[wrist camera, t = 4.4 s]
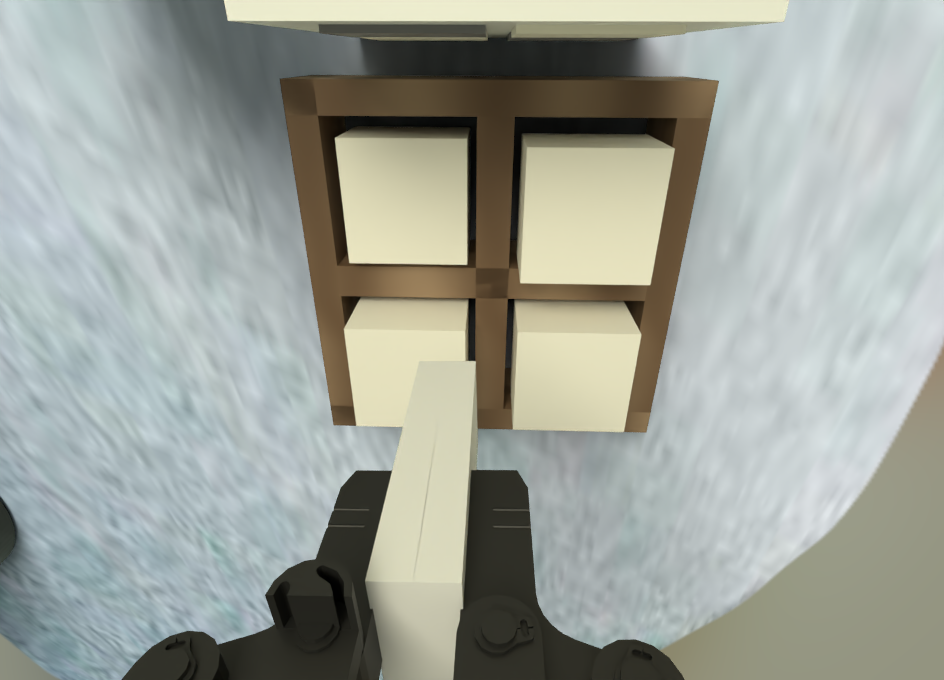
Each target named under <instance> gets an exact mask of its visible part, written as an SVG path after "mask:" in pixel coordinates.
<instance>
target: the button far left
mask: <svg viewBox="0 0 944 680" xmlns="http://www.w3.org/2000/svg"><path fill="white" fill-rule="evenodd" d="M344 334H345V342H346V350H347V357H348V365H349V373H350V380H351V388H352V396H353V403H354V411H355V419H356V426H381V427H403V425H404V421H405V417H406V413H407V409H408V405H409V401H410V396H411V392H412V388H413V384H414V380H415V376H416V372H417V368H418V364H419V361H469V298H431V297H369V296H361V298H360V300H359V302H358V304H357V305H356V307H355V309H354V311H353V313H352V315H351V317H350V318H349V320H348V322H347V324H346V326H345V328H344Z"/></svg>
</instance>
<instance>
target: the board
mask: <svg viewBox="0 0 944 680" xmlns="http://www.w3.org/2000/svg"><path fill="white" fill-rule="evenodd" d="M718 83H719V81H716V80H707V79H699V78H690V77H626V76H401V75H308V76H300V77H291V78H283V79H280V84H281V91H282V97H283V104H284V110H285V116H286V123H287V129H288V136H289V142H290V148H291V155H292V161H293V168H294V174H295V180H296V187H297V193H298V200H299V206H300V212H301V219H302V225H303V232H304V238H305V244H306V251H307V257H308V264H309V270H310V276H311V283H312V289H313V296H314V302H315V309H316V315H317V321H318V328H319V334H320V341H321V347H322V353H323V360H324V366H325V373H326V379H327V385H328V392H329V398H330V405H331V411H332V417H333V424H334V425H349V426H356V419H355V411H354V403H353V396H352V388H351V380H350V373H349V365H348V357H347V350H346V342H345V334H344V328H345V326H346V324H347V322H348V320H349V318H350V317H351V315H352V313H353V311H354V309H355V307H356V305H357V304H358V302H359V300H360V298H361V296H369V297H431V298H476V326H475V361H476V391H477V428H478V429H513V424H512V406H511V388H510V382H511V368H505V354H506V329H507V303H508V299H553V300H614V301H624V303H625V304H626V306H627V308H628V310H629V312H630V314H631V316H632V318H633V319H634V321H635V323H636V325H637V327H638V329H639V331H640V333H641V340H640V345H639V351H638V356H637V362H636V368H635V373H634V379H633V384H632V390H631V395H630V401H629V406H628V412H627V417H626V423H625V428H624V432H646V431H647V426H648V422H649V417H650V412H651V407H652V402H653V397H654V393H655V388H656V383H657V378H658V373H659V368H660V364H661V359H662V354H663V349H664V344H665V339H666V334H667V330H668V325H669V320H670V315H671V310H672V305H673V301H674V296H675V291H676V286H677V281H678V276H679V272H680V267H681V262H682V257H683V252H684V247H685V243H686V238H687V233H688V228H689V223H690V218H691V213H692V209H693V204H694V199H695V194H696V189H697V184H698V180H699V175H700V170H701V165H702V160H703V155H704V151H705V146H706V141H707V136H708V131H709V126H710V122H711V117H712V112H713V107H714V102H715V97H716V92H717V88H718ZM345 116H450V117H477V181H476V240H470V245H469V253H468V262H467V265H440V264H372V263H349V256H348V248H347V239H346V231H345V222H344V213H343V205H342V196H341V188H340V179H339V170H338V162H337V153H336V145H335V137H337V136H339V135H341V134H343V133H345V132H346V126H345ZM515 117H601V118H648V122H647V128H646V134H648V135H650V136H652V137H654V138H655V139H657V140H659V141H661V142H663V143H665V144H667V145H669V146H671V147H673V148H675V151H674V157H673V162H672V168H671V174H670V179H669V185H668V190H667V196H666V201H665V207H664V212H663V218H662V223H661V229H660V235H659V240H658V246H657V251H656V257H655V262H654V268H653V273H652V279H651V284H650V285H598V284H534V283H520V277H519V269H518V261H517V253H516V252H517V240H510V227H511V201H512V175H513V150H514V124H515Z"/></svg>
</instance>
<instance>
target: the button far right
mask: <svg viewBox="0 0 944 680" xmlns="http://www.w3.org/2000/svg"><path fill="white" fill-rule="evenodd" d="M640 340H641V333H640V331H639V329H638V327H637V325H636V323H635V321H634V319H633V318H632V316H631V314H630V312H629V310H628V308H627V306H626V304H625V303H624V301H614V300H553V299H514V317H513V339H512V361H511V382H510V388H511V406H512V424H513V430H553V431H596V432H624V428H625V423H626V417H627V412H628V406H629V401H630V395H631V390H632V384H633V379H634V373H635V368H636V362H637V356H638V351H639V345H640Z"/></svg>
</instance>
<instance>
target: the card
mask: <svg viewBox="0 0 944 680" xmlns="http://www.w3.org/2000/svg"><path fill="white" fill-rule="evenodd" d="M224 3H225V8H226V14H227V19H228V21H233V22H241V23H249V24H257V25H265V26H273V27H281V28H289V29H297V30H305V31H312V32H319V33H323V34H331V35H339V36H347V37H361V38H364V39H372V40H380V41H488V38H507V41H622V40H632V39H638V38H651V37H661V36H670V35H680V34H685V33H687V32H696V31H705V30H714V29H723V28H732V27H741V26H750V25H759V24H768V23H777V22H784V20H785V16H786V11H787V7H788V3H789V0H224Z"/></svg>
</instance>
